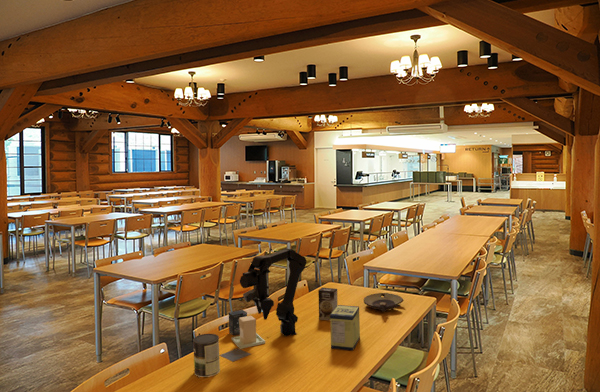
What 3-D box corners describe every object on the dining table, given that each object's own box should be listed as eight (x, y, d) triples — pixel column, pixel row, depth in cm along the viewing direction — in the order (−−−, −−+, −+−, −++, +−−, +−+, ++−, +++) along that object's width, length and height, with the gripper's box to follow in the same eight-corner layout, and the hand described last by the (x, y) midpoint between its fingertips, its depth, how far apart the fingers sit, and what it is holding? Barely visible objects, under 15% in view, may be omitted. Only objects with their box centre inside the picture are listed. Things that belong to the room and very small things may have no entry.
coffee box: (318, 319, 235) (317, 290, 234) (322, 315, 241) (321, 286, 240) (334, 321, 232) (333, 291, 231) (338, 317, 238) (337, 288, 237)
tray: (255, 335, 215) (255, 332, 215) (265, 344, 204) (265, 340, 204) (231, 340, 210) (231, 337, 210) (239, 349, 199) (239, 346, 199)
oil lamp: (408, 304, 257) (408, 291, 257) (390, 319, 232) (390, 305, 231) (373, 299, 269) (373, 286, 269) (352, 313, 244) (352, 300, 243)
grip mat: (237, 348, 200) (237, 348, 200) (251, 354, 193) (251, 354, 193) (219, 356, 193) (219, 355, 193) (233, 362, 186) (233, 361, 186)
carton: (252, 337, 211) (251, 315, 211) (256, 341, 206) (256, 319, 205) (239, 340, 208) (238, 317, 208) (243, 344, 203) (242, 321, 202)
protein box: (360, 338, 208) (359, 305, 207) (353, 351, 193) (352, 316, 192) (338, 336, 212) (338, 304, 211) (330, 348, 197) (329, 314, 196)
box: (233, 336, 215) (232, 315, 215) (229, 332, 220) (228, 312, 220) (248, 332, 220) (247, 311, 219) (243, 329, 224) (242, 309, 224)
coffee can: (192, 379, 172) (190, 344, 171) (196, 367, 182) (194, 334, 181) (219, 377, 173) (217, 342, 172) (221, 365, 183) (220, 332, 182)
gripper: (239, 281, 209) (240, 313, 210) (249, 290, 191) (250, 325, 192) (261, 278, 213) (263, 309, 214) (273, 287, 195) (274, 321, 196)
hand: (262, 316), depth 204 cm, fingers open, 9 cm apart
